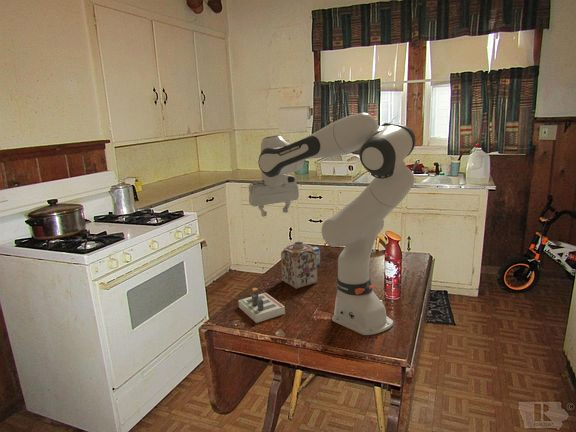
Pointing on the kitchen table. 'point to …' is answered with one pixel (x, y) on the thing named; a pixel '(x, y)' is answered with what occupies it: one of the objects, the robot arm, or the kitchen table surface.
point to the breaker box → (261, 307)
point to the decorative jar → (299, 265)
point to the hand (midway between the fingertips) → (274, 214)
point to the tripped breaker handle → (255, 291)
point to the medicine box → (317, 254)
